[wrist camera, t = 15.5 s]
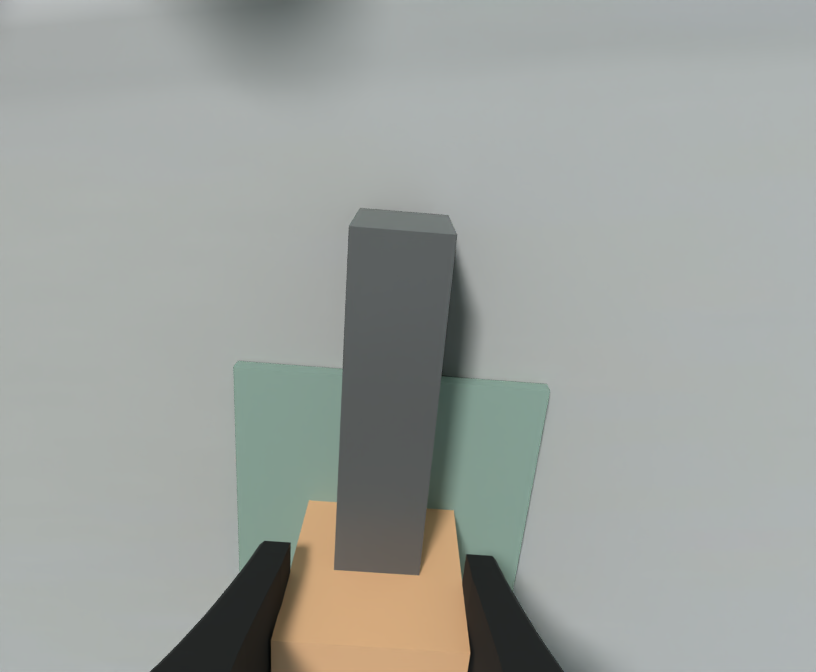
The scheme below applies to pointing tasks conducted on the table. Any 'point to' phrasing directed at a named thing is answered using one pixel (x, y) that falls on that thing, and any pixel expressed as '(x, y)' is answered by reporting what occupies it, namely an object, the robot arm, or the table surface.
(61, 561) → the table surface
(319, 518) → the plug
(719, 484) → the table surface
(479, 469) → the mat
